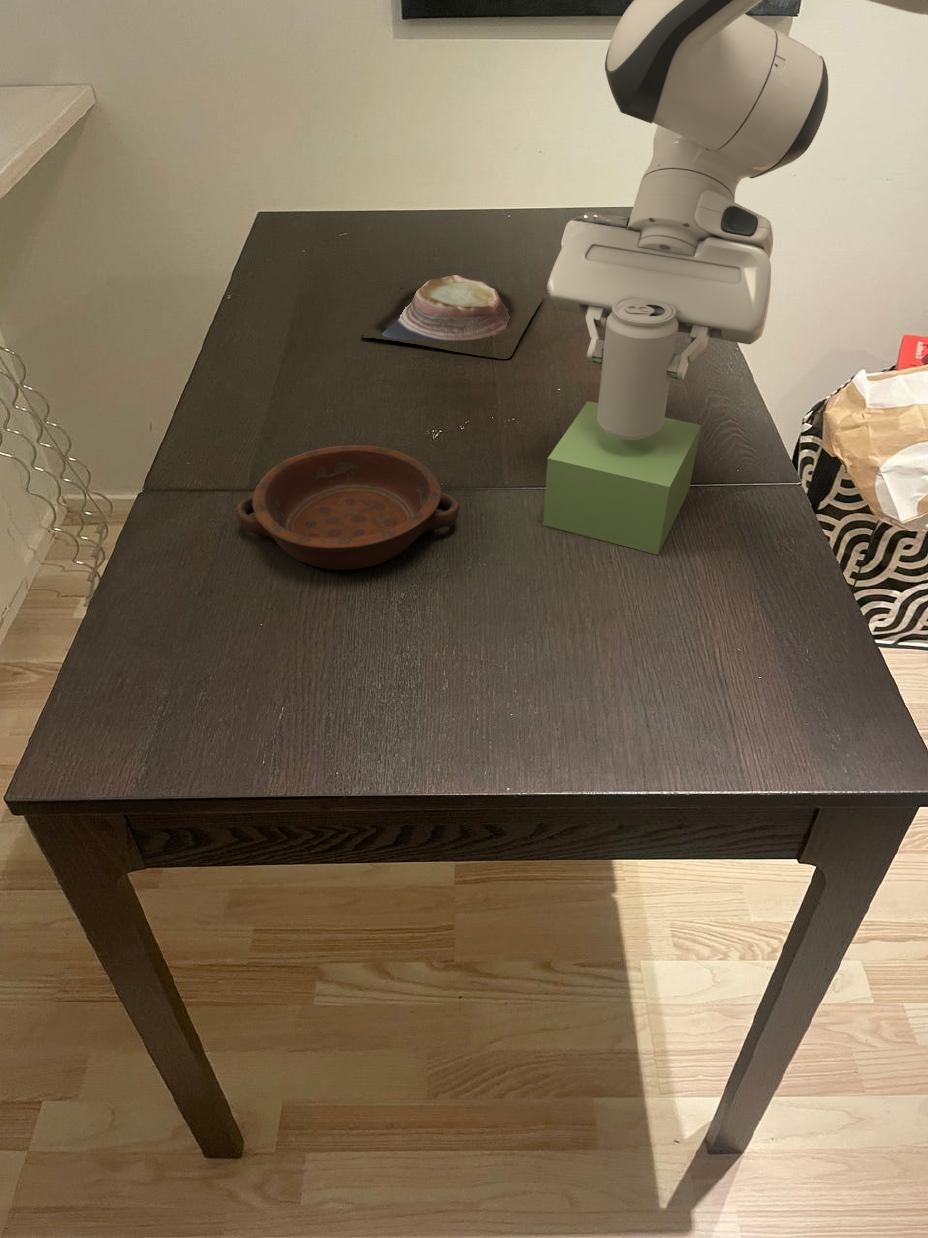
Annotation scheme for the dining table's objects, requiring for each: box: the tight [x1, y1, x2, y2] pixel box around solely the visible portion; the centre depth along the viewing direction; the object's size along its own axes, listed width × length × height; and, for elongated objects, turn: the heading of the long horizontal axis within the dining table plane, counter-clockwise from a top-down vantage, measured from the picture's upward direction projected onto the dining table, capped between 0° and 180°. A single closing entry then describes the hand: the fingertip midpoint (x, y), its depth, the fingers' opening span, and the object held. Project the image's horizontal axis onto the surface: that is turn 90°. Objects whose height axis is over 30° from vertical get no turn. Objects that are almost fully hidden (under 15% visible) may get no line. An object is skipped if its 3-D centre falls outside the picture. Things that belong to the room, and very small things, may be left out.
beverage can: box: [597, 296, 679, 440], centre depth 88 cm, size 6×6×12 cm
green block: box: [542, 400, 702, 556], centre depth 96 cm, size 12×12×8 cm
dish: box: [236, 444, 460, 571], centre depth 94 cm, size 18×22×5 cm
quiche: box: [382, 274, 510, 342], centre depth 131 cm, size 21×20×4 cm
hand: (634, 369), depth 88 cm, fingers closed on beverage can, 6 cm apart
